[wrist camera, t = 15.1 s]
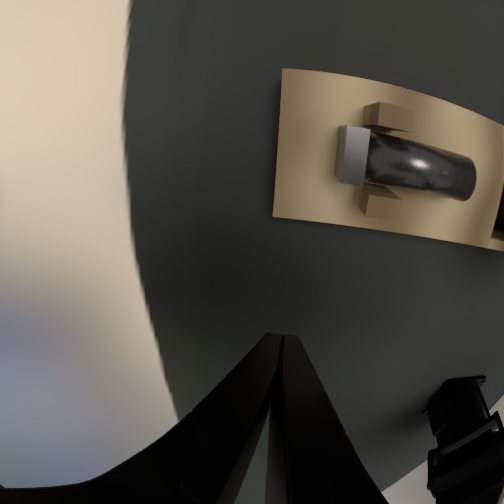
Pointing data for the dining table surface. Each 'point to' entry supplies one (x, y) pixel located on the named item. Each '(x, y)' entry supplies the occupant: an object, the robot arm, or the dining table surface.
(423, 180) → the lock pin
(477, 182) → the dock
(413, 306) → the dining table surface
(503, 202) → the grey metallic cylinder
